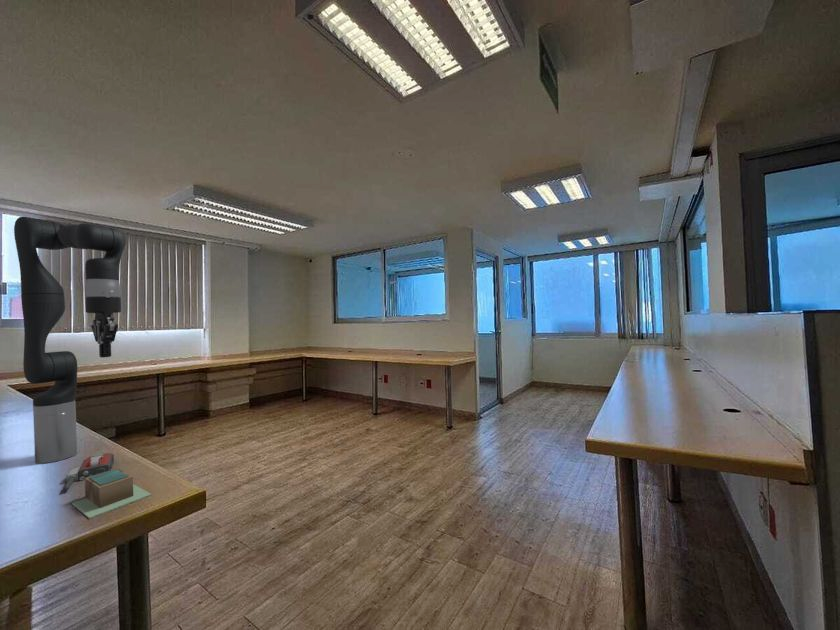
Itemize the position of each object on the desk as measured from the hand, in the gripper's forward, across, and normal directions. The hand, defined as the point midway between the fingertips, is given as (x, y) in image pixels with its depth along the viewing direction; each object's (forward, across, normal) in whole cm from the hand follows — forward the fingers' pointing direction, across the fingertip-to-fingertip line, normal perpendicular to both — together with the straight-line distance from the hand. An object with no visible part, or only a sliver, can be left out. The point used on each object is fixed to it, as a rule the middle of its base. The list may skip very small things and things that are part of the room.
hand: (105, 357), depth 99 cm
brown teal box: (+29, +16, -6) cm, 34 cm away
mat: (+32, +23, -6) cm, 40 cm away
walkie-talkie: (+32, 0, -4) cm, 33 cm away
